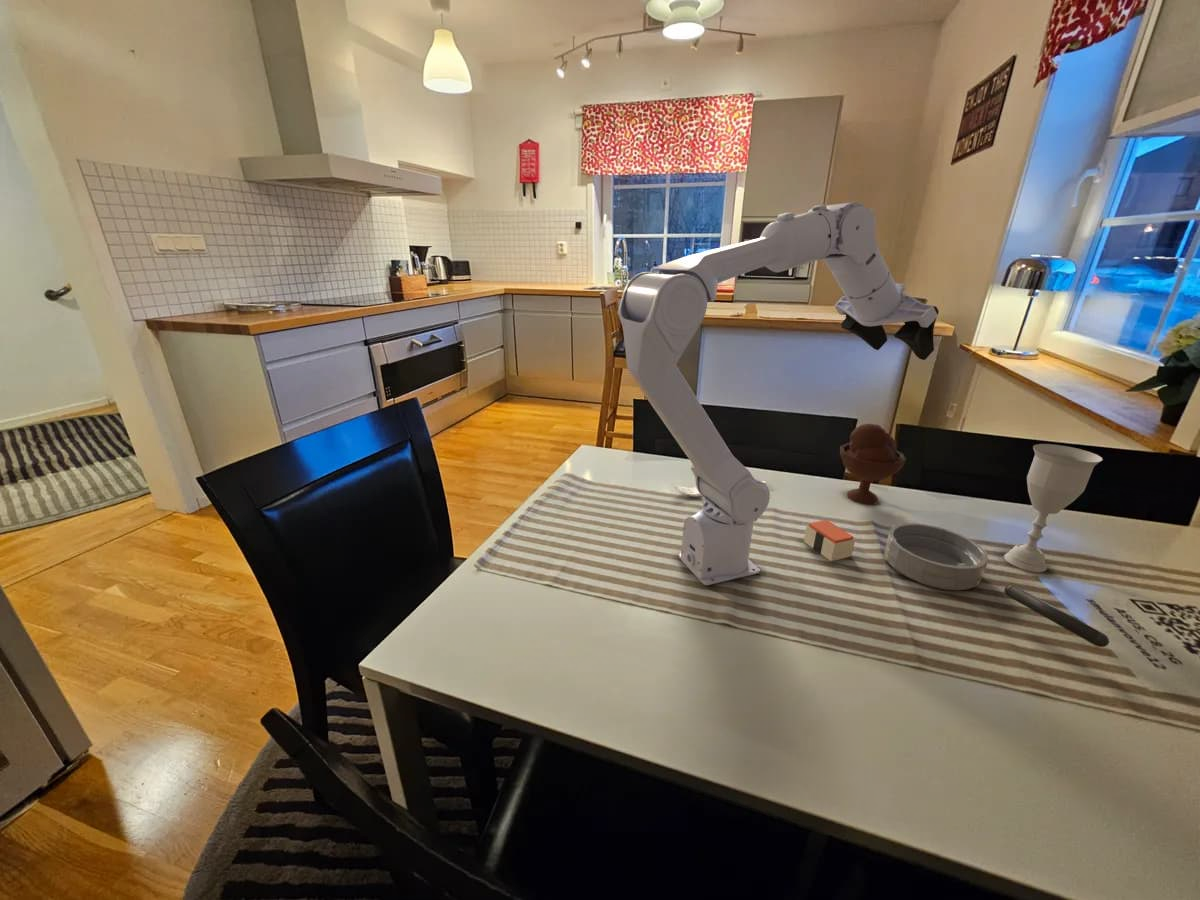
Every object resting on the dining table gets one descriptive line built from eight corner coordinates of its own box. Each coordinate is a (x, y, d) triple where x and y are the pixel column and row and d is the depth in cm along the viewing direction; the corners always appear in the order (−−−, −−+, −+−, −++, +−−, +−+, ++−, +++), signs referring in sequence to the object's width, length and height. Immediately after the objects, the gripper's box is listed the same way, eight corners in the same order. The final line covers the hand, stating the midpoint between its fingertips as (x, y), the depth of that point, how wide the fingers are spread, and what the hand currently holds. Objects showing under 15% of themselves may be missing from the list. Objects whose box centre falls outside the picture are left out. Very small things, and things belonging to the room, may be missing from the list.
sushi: (830, 561, 74) (835, 541, 73) (803, 541, 80) (806, 522, 78) (851, 556, 76) (856, 537, 74) (823, 537, 81) (826, 518, 80)
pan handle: (1100, 651, 54) (1106, 640, 54) (999, 594, 64) (1003, 584, 63) (1109, 648, 55) (1114, 636, 54) (1008, 591, 64) (1011, 581, 64)
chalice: (999, 567, 73) (1039, 455, 67) (991, 545, 79) (1027, 440, 73) (1062, 581, 70) (1111, 466, 64) (1049, 557, 76) (1092, 449, 69)
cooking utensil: (770, 488, 98) (771, 480, 97) (676, 498, 93) (676, 489, 93) (761, 482, 101) (762, 473, 100) (670, 491, 96) (670, 482, 96)
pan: (938, 600, 66) (946, 575, 65) (865, 553, 77) (870, 530, 75) (1000, 582, 70) (1008, 558, 69) (921, 539, 81) (927, 517, 79)
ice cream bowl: (890, 517, 88) (909, 438, 82) (824, 499, 94) (838, 425, 88) (899, 496, 95) (917, 422, 90) (837, 481, 102) (851, 412, 96)
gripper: (938, 260, 59) (971, 336, 65) (844, 258, 71) (880, 322, 78) (898, 305, 59) (935, 376, 66) (811, 295, 72) (850, 355, 78)
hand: (903, 349), depth 72 cm, fingers open, 7 cm apart
